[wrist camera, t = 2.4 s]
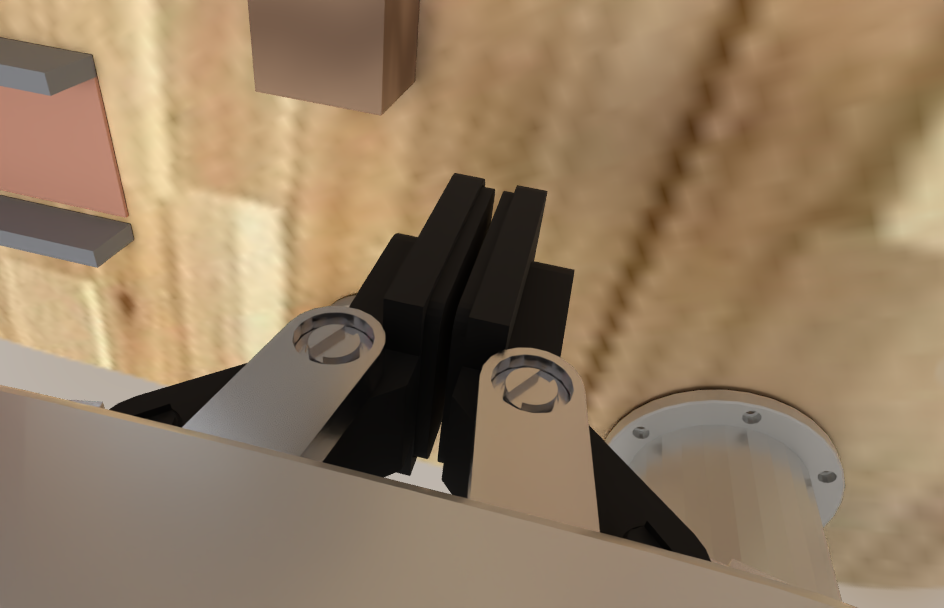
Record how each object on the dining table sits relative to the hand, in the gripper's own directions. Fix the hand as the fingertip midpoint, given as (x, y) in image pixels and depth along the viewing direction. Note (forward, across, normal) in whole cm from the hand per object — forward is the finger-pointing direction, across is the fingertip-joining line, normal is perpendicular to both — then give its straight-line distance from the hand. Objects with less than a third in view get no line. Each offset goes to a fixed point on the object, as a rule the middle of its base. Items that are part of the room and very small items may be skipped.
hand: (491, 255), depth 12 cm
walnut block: (+17, +9, +1) cm, 19 cm away
